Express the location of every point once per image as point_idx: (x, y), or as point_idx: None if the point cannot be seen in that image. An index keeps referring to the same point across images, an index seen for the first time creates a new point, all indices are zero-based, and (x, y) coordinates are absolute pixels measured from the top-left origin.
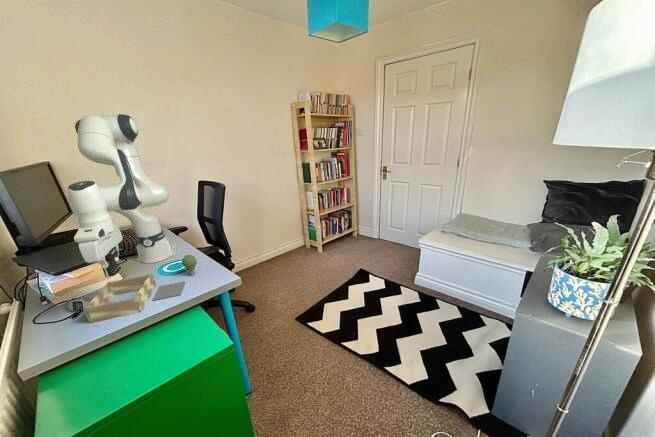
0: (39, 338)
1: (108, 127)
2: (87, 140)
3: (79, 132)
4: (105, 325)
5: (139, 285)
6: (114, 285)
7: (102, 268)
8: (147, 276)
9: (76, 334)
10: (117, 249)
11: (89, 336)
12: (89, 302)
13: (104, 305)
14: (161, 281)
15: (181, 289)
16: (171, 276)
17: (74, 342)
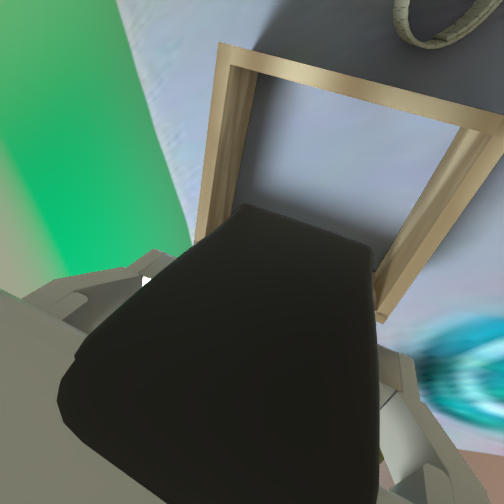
0: None
1: None
2: None
3: None
4: (203, 120)
5: (399, 246)
6: (470, 152)
7: (205, 236)
8: (380, 304)
9: (198, 14)
10: (386, 459)
11: (165, 75)
12: (401, 11)
13: (207, 139)
14: (406, 305)
15: None
16: (419, 338)
17: (153, 26)
